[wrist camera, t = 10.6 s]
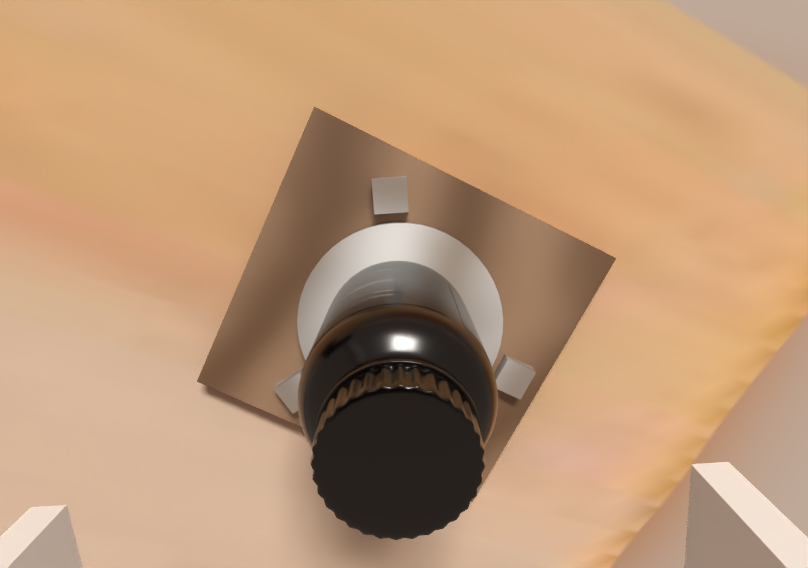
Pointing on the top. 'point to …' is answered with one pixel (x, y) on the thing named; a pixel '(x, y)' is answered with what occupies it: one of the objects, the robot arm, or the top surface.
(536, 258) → the board
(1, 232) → the top surface
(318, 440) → the supplement bottle
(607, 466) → the top surface
